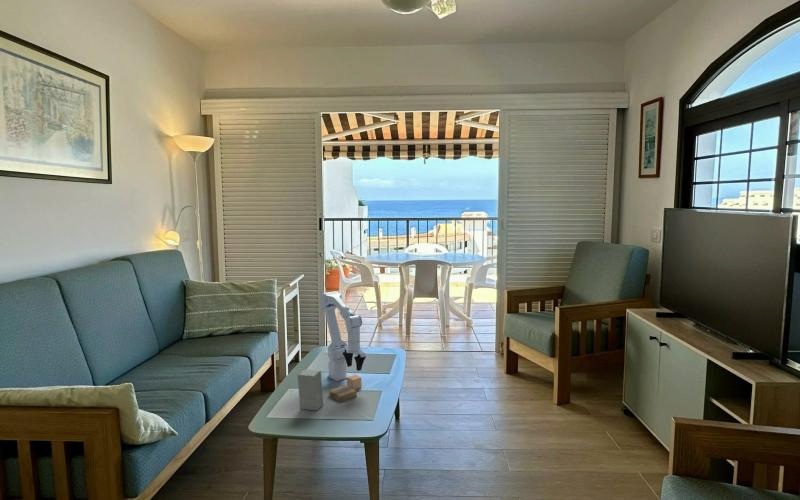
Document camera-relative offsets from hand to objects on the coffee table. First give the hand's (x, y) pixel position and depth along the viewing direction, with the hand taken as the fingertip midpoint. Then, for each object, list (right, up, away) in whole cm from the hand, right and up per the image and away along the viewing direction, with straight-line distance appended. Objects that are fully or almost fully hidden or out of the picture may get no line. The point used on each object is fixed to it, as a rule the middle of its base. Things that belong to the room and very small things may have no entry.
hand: (354, 368), depth 219 cm
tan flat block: (-4, -11, -9) cm, 15 cm away
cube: (0, -9, +1) cm, 10 cm away
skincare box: (-17, -12, -21) cm, 29 cm away
